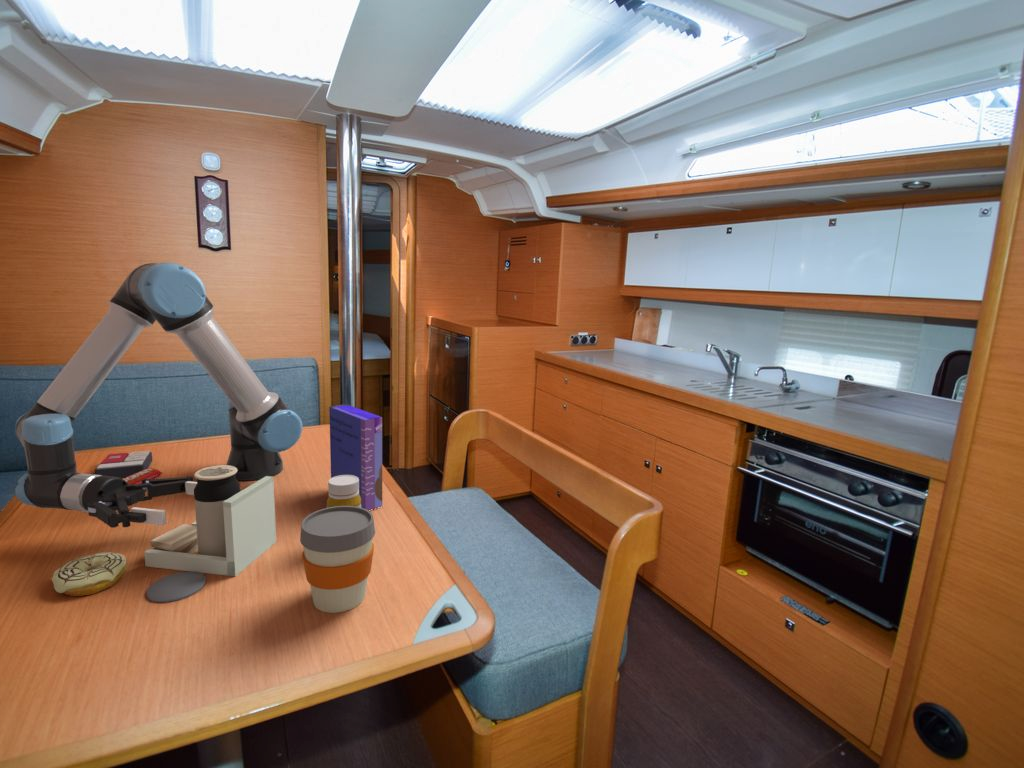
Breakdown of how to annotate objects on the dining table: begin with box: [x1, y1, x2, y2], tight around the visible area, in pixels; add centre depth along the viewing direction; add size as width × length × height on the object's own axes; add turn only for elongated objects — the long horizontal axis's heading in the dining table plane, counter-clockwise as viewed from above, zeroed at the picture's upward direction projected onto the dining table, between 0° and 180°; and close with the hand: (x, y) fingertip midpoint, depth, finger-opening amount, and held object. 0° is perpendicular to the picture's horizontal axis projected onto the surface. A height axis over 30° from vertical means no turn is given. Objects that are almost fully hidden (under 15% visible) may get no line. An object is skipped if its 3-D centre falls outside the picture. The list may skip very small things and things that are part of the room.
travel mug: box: [193, 464, 241, 557], centre depth 103 cm, size 8×8×18 cm
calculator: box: [93, 450, 153, 479], centre depth 147 cm, size 11×4×15 cm
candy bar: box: [123, 467, 163, 484], centre depth 137 cm, size 16×4×3 cm, turn 175°
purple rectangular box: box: [328, 403, 383, 511], centre depth 132 cm, size 17×5×24 cm, turn 47°
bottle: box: [326, 475, 361, 508], centre depth 109 cm, size 7×7×15 cm
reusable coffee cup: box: [299, 506, 376, 614], centre depth 91 cm, size 12×13×15 cm
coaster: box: [146, 571, 206, 603], centre depth 93 cm, size 9×9×1 cm
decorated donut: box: [51, 551, 128, 597], centre depth 93 cm, size 10×11×4 cm
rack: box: [143, 476, 277, 577], centre depth 103 cm, size 19×14×15 cm
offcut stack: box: [150, 523, 198, 554], centre depth 105 cm, size 7×10×4 cm, turn 173°
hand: (191, 503), depth 102 cm, fingers open, 13 cm apart
